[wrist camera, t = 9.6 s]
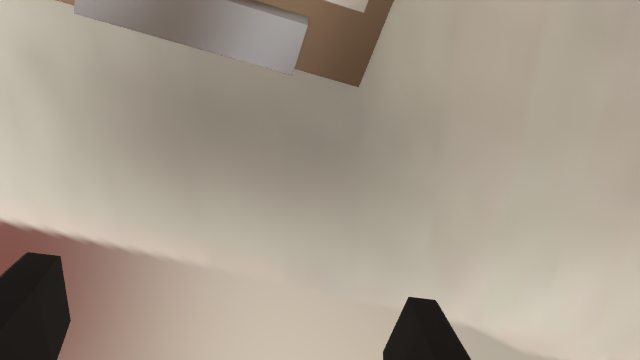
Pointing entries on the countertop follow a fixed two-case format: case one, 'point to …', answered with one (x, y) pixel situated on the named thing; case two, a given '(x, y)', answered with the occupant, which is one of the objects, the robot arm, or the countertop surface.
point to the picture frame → (260, 30)
